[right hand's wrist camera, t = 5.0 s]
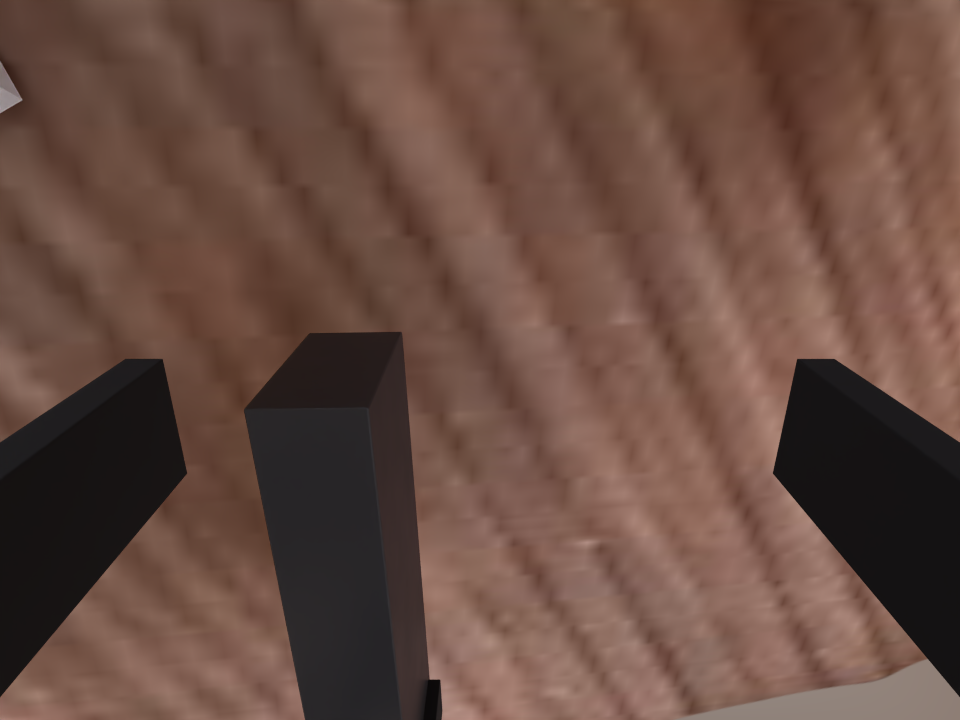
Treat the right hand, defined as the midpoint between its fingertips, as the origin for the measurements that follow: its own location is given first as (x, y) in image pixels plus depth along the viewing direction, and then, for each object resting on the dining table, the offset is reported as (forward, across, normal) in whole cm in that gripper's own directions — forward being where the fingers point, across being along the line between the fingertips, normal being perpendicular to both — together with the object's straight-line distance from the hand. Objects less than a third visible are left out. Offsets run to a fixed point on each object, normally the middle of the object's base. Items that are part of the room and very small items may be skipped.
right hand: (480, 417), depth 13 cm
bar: (+16, -6, -18) cm, 25 cm away
